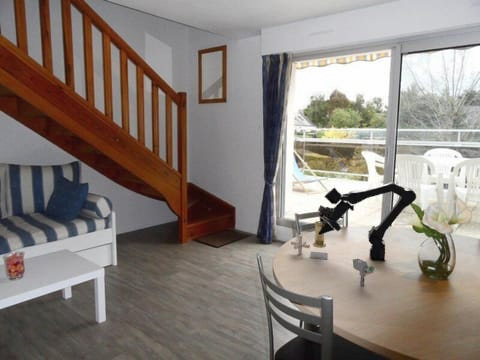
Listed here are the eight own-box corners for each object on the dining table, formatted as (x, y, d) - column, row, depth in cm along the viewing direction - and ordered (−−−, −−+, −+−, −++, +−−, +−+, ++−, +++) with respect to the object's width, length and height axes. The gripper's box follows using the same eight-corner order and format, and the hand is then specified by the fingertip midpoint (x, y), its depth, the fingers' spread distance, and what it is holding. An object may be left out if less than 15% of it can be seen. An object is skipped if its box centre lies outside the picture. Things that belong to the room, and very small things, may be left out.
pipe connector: (304, 259, 180) (304, 239, 179) (286, 254, 186) (287, 235, 185) (313, 253, 188) (313, 234, 187) (296, 249, 194) (296, 231, 193)
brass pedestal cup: (325, 244, 187) (326, 221, 185) (325, 248, 180) (326, 224, 179) (313, 243, 188) (313, 220, 186) (312, 247, 182) (313, 223, 180)
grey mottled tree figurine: (368, 291, 146) (370, 267, 144) (350, 281, 155) (351, 258, 153) (374, 289, 147) (375, 265, 146) (355, 280, 156) (356, 257, 155)
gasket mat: (327, 253, 188) (327, 252, 188) (327, 259, 180) (327, 259, 180) (310, 252, 190) (310, 251, 190) (309, 258, 182) (309, 257, 182)
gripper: (322, 196, 190) (301, 217, 191) (335, 204, 172) (311, 227, 172) (336, 210, 192) (315, 231, 193) (350, 219, 174) (327, 242, 174)
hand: (317, 233), depth 183 cm, fingers closed on brass pedestal cup, 4 cm apart
